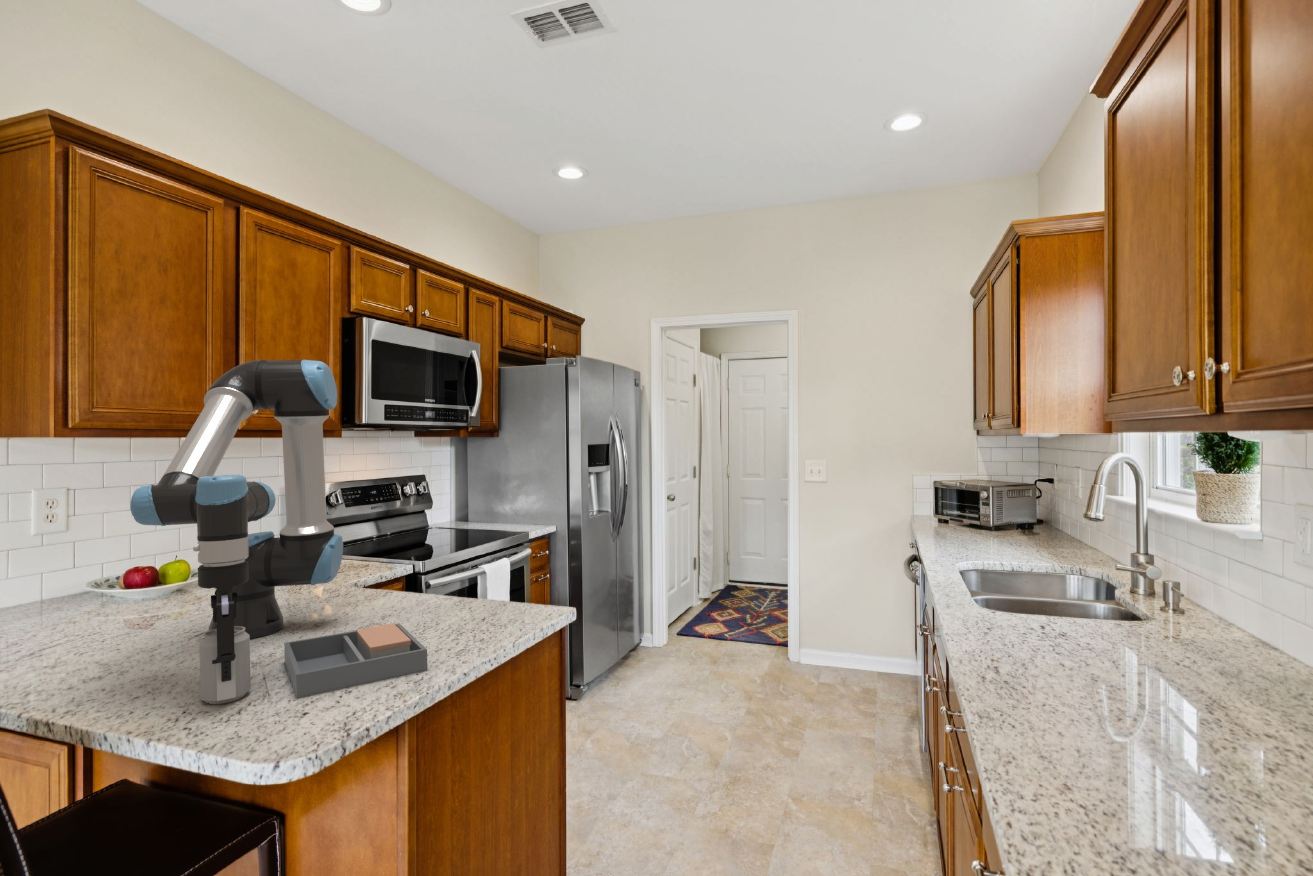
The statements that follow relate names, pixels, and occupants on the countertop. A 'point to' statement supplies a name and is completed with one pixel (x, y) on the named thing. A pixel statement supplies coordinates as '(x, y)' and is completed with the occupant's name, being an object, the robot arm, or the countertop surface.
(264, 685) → the countertop surface
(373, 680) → the tray
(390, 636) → the two-tone square sponge
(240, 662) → the can
